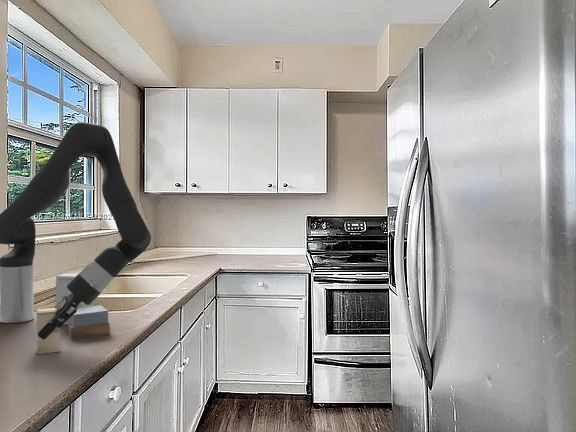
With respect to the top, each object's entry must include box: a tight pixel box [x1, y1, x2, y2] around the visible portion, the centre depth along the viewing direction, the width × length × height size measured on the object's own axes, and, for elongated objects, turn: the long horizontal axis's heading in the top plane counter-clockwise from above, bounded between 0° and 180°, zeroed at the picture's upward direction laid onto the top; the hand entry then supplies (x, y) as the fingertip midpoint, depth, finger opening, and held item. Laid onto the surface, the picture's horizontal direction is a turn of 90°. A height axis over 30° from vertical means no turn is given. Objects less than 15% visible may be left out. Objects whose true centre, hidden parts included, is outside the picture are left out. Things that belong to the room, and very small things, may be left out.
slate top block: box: [68, 304, 109, 327], centre depth 144 cm, size 9×9×4 cm
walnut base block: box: [67, 321, 111, 340], centre depth 144 cm, size 10×10×4 cm
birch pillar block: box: [36, 307, 61, 355], centre depth 127 cm, size 5×5×10 cm
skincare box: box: [54, 273, 89, 326], centre depth 156 cm, size 8×6×15 cm
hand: (40, 334), depth 126 cm, fingers closed on birch pillar block, 5 cm apart
